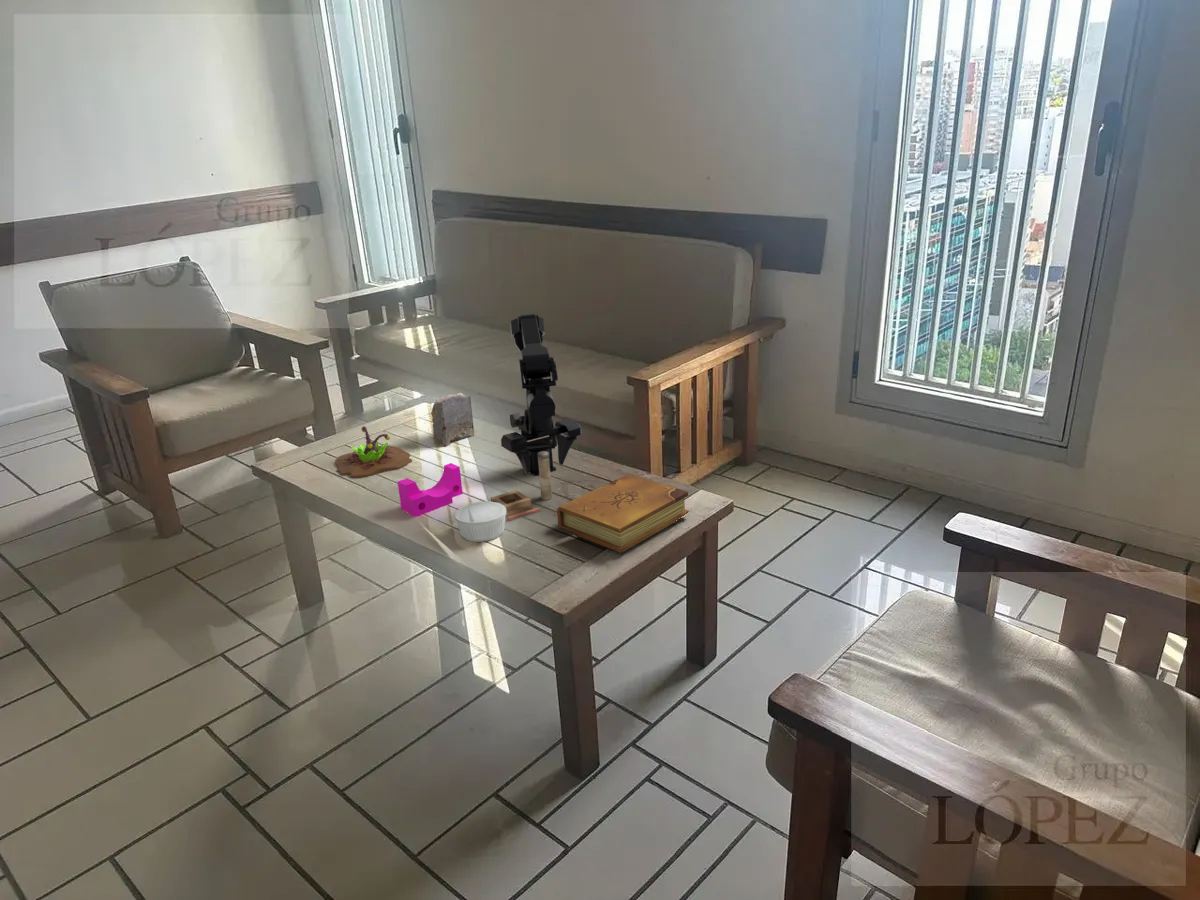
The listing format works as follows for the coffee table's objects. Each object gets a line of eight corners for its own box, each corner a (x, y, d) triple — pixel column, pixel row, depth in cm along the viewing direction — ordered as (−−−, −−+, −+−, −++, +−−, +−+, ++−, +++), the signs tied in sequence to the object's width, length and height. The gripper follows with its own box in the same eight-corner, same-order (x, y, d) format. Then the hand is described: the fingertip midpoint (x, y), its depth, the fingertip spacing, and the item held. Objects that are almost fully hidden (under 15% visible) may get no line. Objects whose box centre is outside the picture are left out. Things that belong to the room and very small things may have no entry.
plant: (397, 448, 241) (392, 411, 237) (420, 469, 225) (415, 429, 221) (326, 464, 232) (320, 426, 228) (346, 487, 216) (339, 446, 212)
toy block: (415, 517, 196) (411, 488, 194) (401, 510, 201) (397, 481, 198) (468, 497, 206) (465, 469, 203) (454, 491, 210) (450, 463, 207)
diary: (626, 494, 203) (626, 472, 201) (688, 515, 191) (688, 491, 189) (558, 528, 188) (556, 504, 186) (620, 552, 176) (619, 527, 174)
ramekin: (446, 535, 187) (443, 513, 185) (485, 517, 194) (482, 496, 192) (479, 549, 179) (477, 527, 178) (518, 530, 187) (516, 509, 185)
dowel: (548, 494, 205) (545, 450, 200) (554, 498, 202) (550, 453, 198) (539, 497, 203) (535, 452, 199) (544, 500, 201) (540, 455, 197)
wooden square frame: (521, 498, 203) (520, 488, 202) (540, 511, 196) (539, 501, 195) (491, 507, 199) (490, 497, 198) (509, 520, 192) (508, 510, 191)
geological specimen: (463, 436, 247) (458, 387, 242) (477, 440, 243) (471, 390, 238) (434, 447, 240) (427, 396, 234) (447, 451, 236) (441, 400, 230)
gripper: (556, 390, 206) (560, 450, 211) (487, 406, 196) (493, 468, 202) (580, 401, 197) (584, 463, 203) (509, 418, 188) (515, 483, 193)
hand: (544, 469), depth 200 cm, fingers open, 9 cm apart
